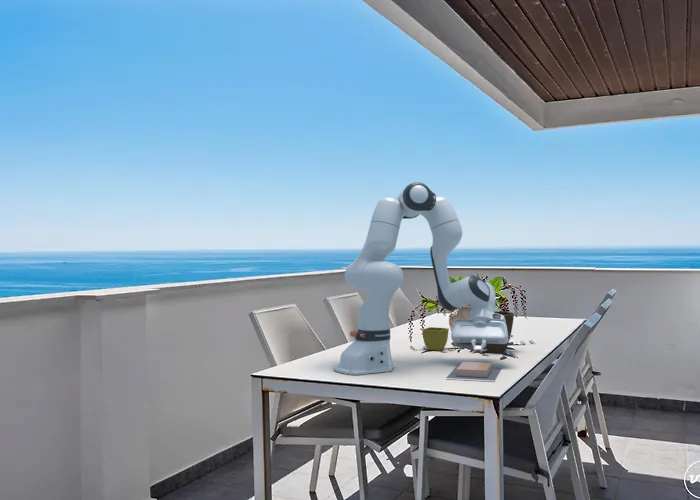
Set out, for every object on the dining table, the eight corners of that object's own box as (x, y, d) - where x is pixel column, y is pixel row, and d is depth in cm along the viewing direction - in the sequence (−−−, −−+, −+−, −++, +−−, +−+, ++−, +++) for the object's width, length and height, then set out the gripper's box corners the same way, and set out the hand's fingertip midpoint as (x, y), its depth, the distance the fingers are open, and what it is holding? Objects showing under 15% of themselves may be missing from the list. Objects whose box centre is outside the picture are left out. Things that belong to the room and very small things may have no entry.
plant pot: (497, 356, 258) (497, 316, 258) (470, 351, 270) (469, 313, 270) (522, 352, 267) (521, 313, 267) (494, 347, 279) (493, 310, 279)
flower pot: (449, 349, 278) (449, 328, 278) (441, 352, 270) (441, 330, 270) (430, 347, 282) (430, 327, 282) (422, 350, 275) (421, 329, 274)
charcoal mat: (495, 382, 210) (495, 380, 210) (445, 379, 215) (445, 377, 215) (502, 369, 231) (502, 367, 231) (457, 367, 236) (457, 365, 236)
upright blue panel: (491, 370, 227) (486, 378, 214) (463, 368, 230) (456, 376, 217) (491, 363, 227) (486, 370, 214) (463, 361, 230) (456, 369, 217)
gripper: (452, 314, 240) (447, 344, 231) (508, 315, 234) (506, 347, 224) (454, 325, 245) (449, 355, 235) (510, 326, 238) (507, 357, 229)
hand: (477, 351), depth 230 cm, fingers closed
